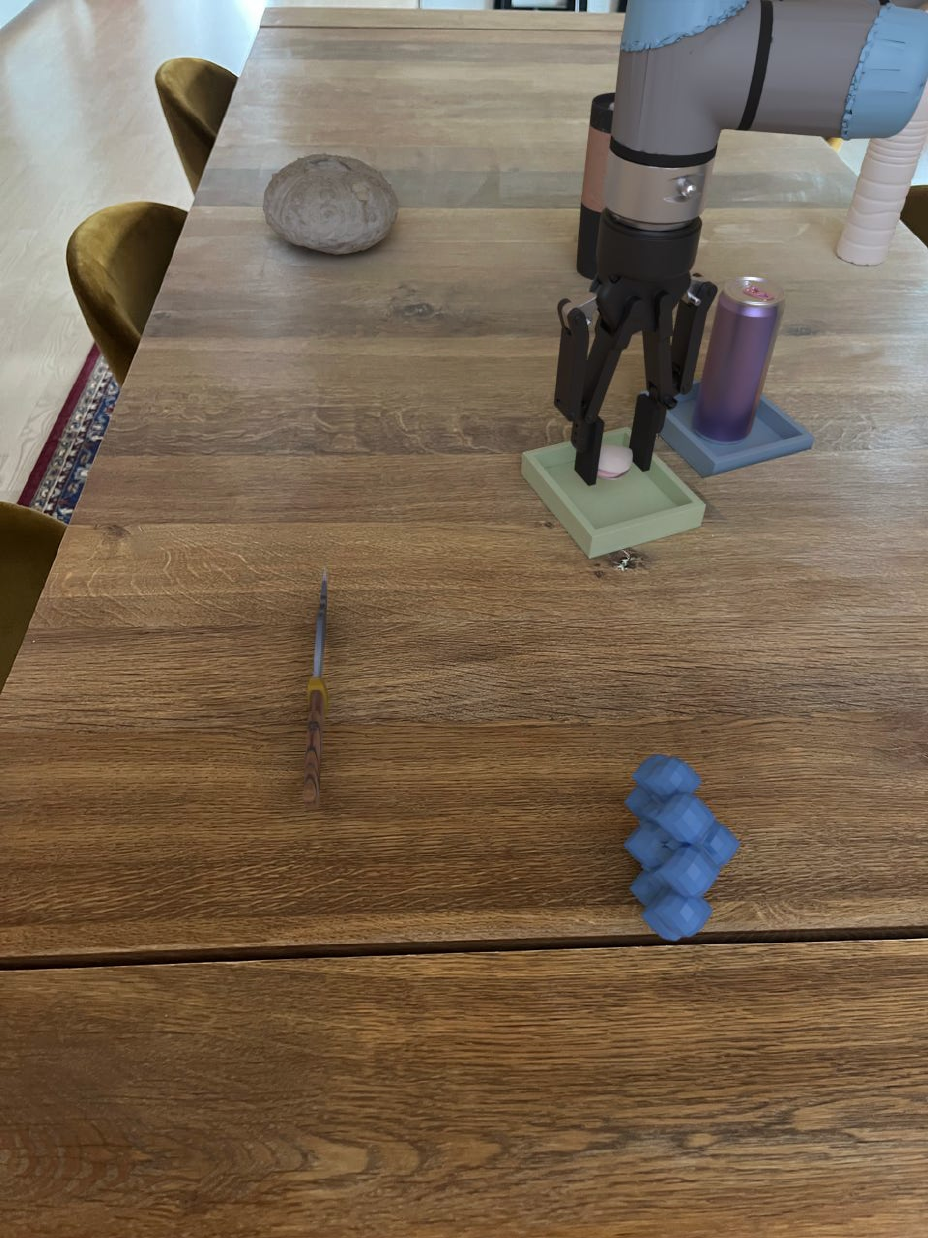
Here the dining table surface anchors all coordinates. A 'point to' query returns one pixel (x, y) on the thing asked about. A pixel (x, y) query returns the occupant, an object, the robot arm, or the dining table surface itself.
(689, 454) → the tray
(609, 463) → the macaroon
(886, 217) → the water bottle
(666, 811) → the grapes
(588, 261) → the travel mug
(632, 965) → the dining table surface
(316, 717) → the knife
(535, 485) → the snack tray
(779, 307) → the beverage can
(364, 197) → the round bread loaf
